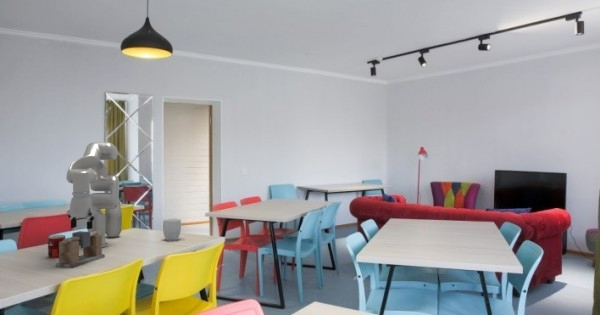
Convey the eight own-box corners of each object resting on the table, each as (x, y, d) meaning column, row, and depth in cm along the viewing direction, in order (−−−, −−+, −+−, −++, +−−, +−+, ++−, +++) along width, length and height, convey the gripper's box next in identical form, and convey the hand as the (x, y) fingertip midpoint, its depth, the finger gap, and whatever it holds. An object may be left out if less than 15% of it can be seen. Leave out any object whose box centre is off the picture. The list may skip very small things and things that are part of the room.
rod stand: (55, 266, 204) (55, 238, 204) (88, 255, 226) (88, 230, 225) (72, 268, 202) (72, 239, 202) (104, 257, 223) (104, 231, 223)
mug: (165, 237, 276) (165, 217, 276) (182, 236, 278) (182, 217, 278) (161, 241, 262) (161, 221, 262) (179, 241, 263) (179, 220, 263)
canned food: (49, 255, 225) (49, 235, 225) (66, 254, 228) (66, 234, 228) (46, 259, 218) (47, 238, 218) (64, 257, 221) (64, 236, 221)
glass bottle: (107, 235, 280) (107, 193, 279) (123, 235, 281) (123, 193, 280) (102, 238, 270) (102, 195, 269) (118, 238, 271) (119, 195, 271)
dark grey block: (72, 247, 212) (72, 233, 212) (79, 245, 217) (79, 231, 217) (83, 248, 210) (83, 233, 210) (90, 245, 215) (90, 231, 215)
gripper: (61, 195, 212) (61, 228, 213) (90, 196, 208) (90, 231, 208) (72, 193, 219) (73, 225, 220) (101, 194, 215) (101, 227, 216)
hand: (81, 228), depth 214 cm, fingers open, 9 cm apart
